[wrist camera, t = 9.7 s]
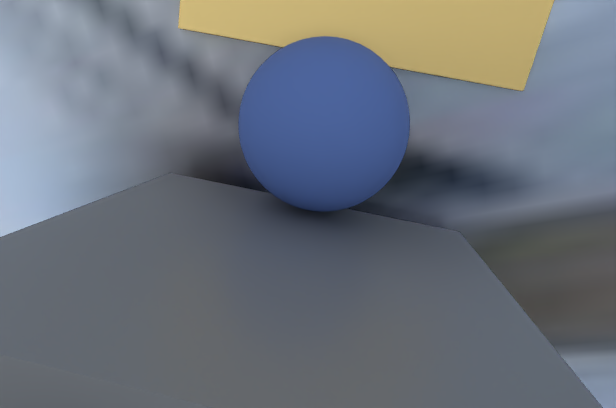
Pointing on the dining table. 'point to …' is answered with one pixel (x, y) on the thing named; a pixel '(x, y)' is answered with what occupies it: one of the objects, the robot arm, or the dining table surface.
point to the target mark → (394, 31)
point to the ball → (324, 123)
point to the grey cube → (260, 310)
